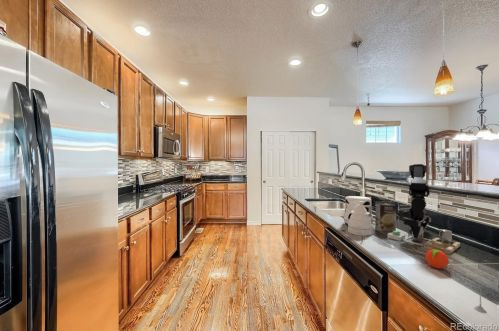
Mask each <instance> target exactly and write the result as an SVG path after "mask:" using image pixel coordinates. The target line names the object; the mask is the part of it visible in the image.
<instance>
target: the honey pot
mask: <svg viewBox="0 0 499 331" xmlns="http://www.w3.org/2000/svg"><path fill="white" fill-rule="evenodd" d="M359 203H360V204H358V205H357V206H356V207H355V208H354V210H353V211H351V213H352V214H351V216H350V219H349V221H348V224H347V232H348V233H349V232H350V234H353V235H355V236H360V237H361V236H365V237H367V236H369V235H370V236H371V235H372V234H373V223H371V221H370V220H371V219H370V218H369V214H370V213H369V212H367V210H366V208H365V207H364V206H363V205H362V204H363V203H364V201H359Z"/></svg>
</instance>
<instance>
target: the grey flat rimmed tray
mask: <svg viewBox="0 0 499 331" xmlns="http://www.w3.org/2000/svg"><path fill="white" fill-rule="evenodd" d="M409 239H412V235H410V236H408V237H405V239H403V240H401V241H403V242H406V243H410V244H414V245H418V246H422V247H424V244H425V243H427V242H429V241H431V240H432V239H428V238H424V237H423V241H424V240H425V241H426V242H424V243H422V244H421V243H418V242H415V241H414V242H413V241H409Z"/></svg>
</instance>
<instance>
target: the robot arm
mask: <svg viewBox="0 0 499 331" xmlns="http://www.w3.org/2000/svg"><path fill="white" fill-rule="evenodd" d="M427 170H428V166H427V165H425V164H424V163H412V164H411V165H409V166H408V173H410V177H411V178H412V179H411V180H410V183H409V185H408V196H409V197H411V199H410V207H409V208H408V210H403V209H401V210H398V211H397V216H398V217H399V219H403V225H406V226H409V227H410V228H408V231H411V233H412V232H413V235H414V238H417V237H418V235H419V233H420V230H421V228H422V227H423V232H425V231H426V229H427V226H428V225H429V223H431V222H432V217H431V216H430V215H428V214H427V208H426V207H427V202H426V198H429V196H430V195H431V194H430V193H431V192H430V187H429V184H427V180H425V179H424V178H425V176H426V173H428V171H427ZM404 218H405V219H404Z"/></svg>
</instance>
